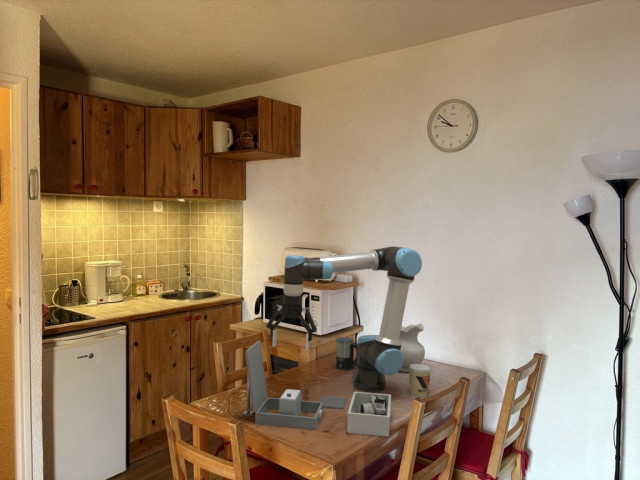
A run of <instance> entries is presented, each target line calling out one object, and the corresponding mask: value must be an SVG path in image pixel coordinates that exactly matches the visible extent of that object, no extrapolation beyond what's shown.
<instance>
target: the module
mask: <svg viewBox="0 0 640 480" xmlns="http://www.w3.org/2000/svg"><path fill="white" fill-rule="evenodd" d="M279 398H280V399H279V409H278V411H279V412H278V414H282V415H293V416H301V413H302V411H301V400H302V390H300V389H289V388H288V389H287V388H286V389H285V390H284V392H283V393H282V394H281V396H280V397H279Z"/></svg>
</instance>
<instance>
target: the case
mask: <svg viewBox="0 0 640 480" xmlns="http://www.w3.org/2000/svg"><path fill="white" fill-rule="evenodd" d="M279 399H280V397H269V396H267V398H266V399H265V400H264V402H263V403H262V404H261V405H260V407H259V408H258V409H257V411H256V412H254V414H255V415H254V416H255V417H254V418H255V419H254V420H255V421H254V423H255V425H267V426H277V427H285V428H295V429H306V430H317V429H318V425H319V423H320V420H321V418H322V416H323V414H324V408H323V402H318V401H315V400H314V401H312V400H302V399H301V412H305V413H315V414H314V417H312V416H301V415H300V416H293V415H282V414H279V413H270V412H267V411H268V410H269V409H272V410H273V409H275V410H279Z"/></svg>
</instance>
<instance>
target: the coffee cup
mask: <svg viewBox="0 0 640 480" xmlns="http://www.w3.org/2000/svg"><path fill="white" fill-rule="evenodd" d="M431 370H432V369H431V367H430V366H429V365H427V364H423V363H421V364H411V365H410V367H409V373H408V374H409V376H408V378H409V394H410V395H411V396H414V397H418V398H425V397H427V396H429V387H430V377H431Z"/></svg>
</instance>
